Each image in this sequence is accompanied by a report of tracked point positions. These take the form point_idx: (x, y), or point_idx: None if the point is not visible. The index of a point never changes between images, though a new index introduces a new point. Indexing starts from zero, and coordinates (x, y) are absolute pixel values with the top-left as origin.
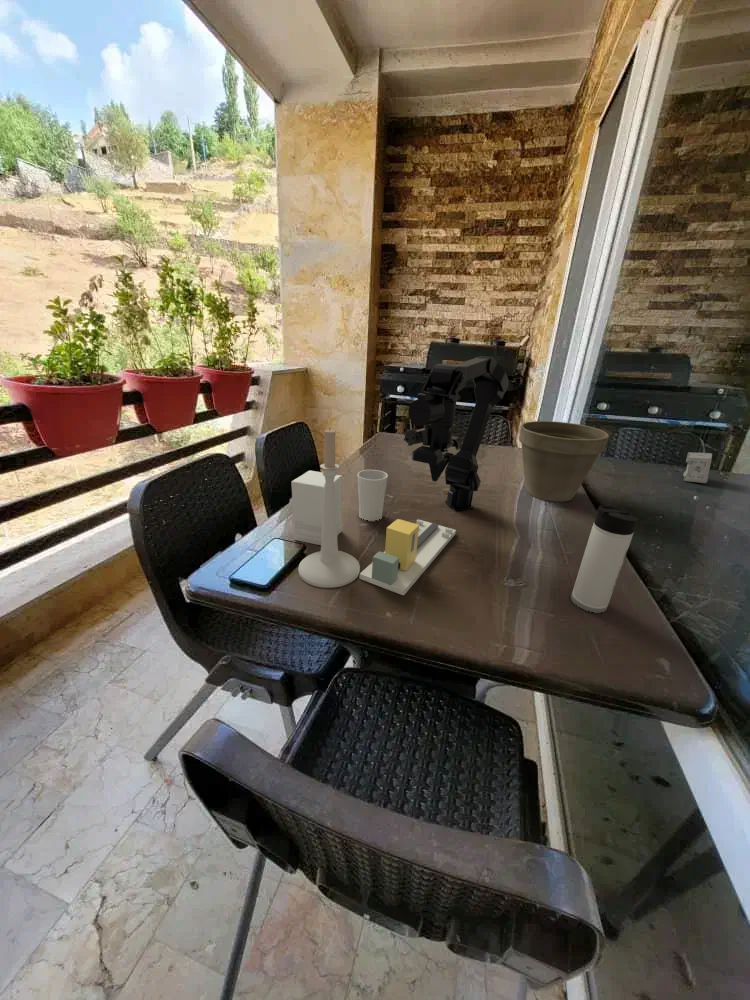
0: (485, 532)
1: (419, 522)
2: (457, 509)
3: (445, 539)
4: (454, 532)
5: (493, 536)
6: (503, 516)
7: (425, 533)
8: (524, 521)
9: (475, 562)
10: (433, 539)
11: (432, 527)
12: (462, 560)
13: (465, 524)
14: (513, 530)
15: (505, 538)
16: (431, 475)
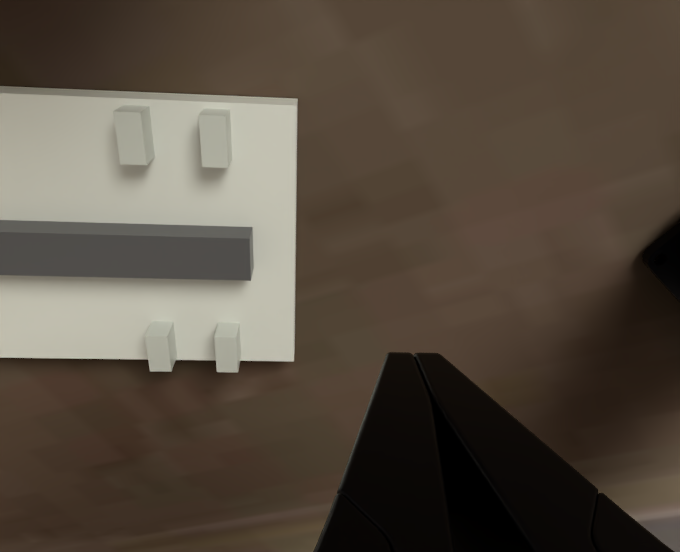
0: None
1: (202, 143)
2: (650, 268)
3: (134, 349)
4: (269, 357)
5: None
6: (654, 476)
7: (53, 253)
8: None
9: (81, 481)
10: (78, 294)
11: (175, 262)
12: (51, 439)
13: (457, 354)
14: None
15: None
16: (369, 406)
